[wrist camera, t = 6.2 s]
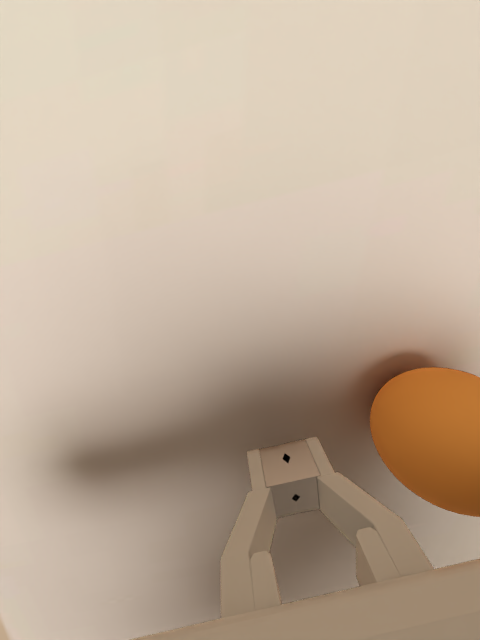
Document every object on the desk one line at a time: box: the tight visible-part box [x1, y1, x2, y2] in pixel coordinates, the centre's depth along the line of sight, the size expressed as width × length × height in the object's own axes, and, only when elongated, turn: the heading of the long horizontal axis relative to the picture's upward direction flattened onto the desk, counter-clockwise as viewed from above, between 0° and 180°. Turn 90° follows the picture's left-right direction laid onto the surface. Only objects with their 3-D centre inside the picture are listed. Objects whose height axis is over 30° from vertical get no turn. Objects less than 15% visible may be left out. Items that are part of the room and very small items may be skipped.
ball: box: [370, 367, 480, 517], centre depth 9 cm, size 5×5×5 cm
